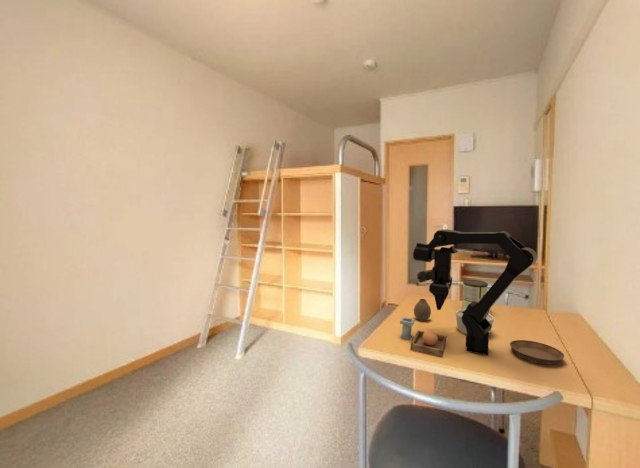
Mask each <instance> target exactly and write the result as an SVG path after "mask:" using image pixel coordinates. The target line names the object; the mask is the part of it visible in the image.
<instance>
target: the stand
mask: <svg viewBox="0 0 640 468" xmlns="http://www.w3.org/2000/svg"><path fill="white" fill-rule="evenodd" d="M415 321H416V320H415V318H410V317H403V316H402V317H401V319H400V320H399V324H400V325H402V330H401V331H402V332H401V334H400V337H401V338H402V339H404V340H413V335H412V328H413V326H414V324H415Z"/></svg>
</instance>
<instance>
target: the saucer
mask: <svg viewBox="0 0 640 468" xmlns="http://www.w3.org/2000/svg"><path fill="white" fill-rule="evenodd" d="M509 346H510V348H511V349H512V350H513V352H514V353H515V354H516V355H517V356H518V357H521V358H522V359H524V360H526V361H529V362H531V361H532V362H533V363H535V362H536V363H537V364H540V363H541V365H542V364H543V365H553V364H557V363H559V362H561V361H562V360H563V359H564V358H565V355H564V353H563V352H562V351H561V350H559V349H558V348H556V347H554V346H551V345H548V344H546V343H542V342H539V341H534V340H525V339H517V340H516V339H515V340H512V341H511V342H510V343H509ZM532 362H531V363H532Z"/></svg>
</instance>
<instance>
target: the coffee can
mask: <svg viewBox="0 0 640 468" xmlns="http://www.w3.org/2000/svg"><path fill="white" fill-rule="evenodd" d="M462 283H463V285H462V300H461V301H462V303H461V310H462V309H466V308H467V306H468V305H469V304H470V303H472V302H473V301H476V302H477V303H478V302H479V301H480V300H481V299H482V297H483V296H484V295H485V294H486V292H487V291H488V285H489V283H488V282H487V281H483V280H479V279H464V280H463V281H462Z"/></svg>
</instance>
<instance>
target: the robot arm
mask: <svg viewBox="0 0 640 468" xmlns="http://www.w3.org/2000/svg"><path fill="white" fill-rule="evenodd" d="M458 244H480V245H481V244H483V245H485V244H488V245H489V244H490V245H492V244H494V245H495V244H496V245H498V246H499V247H500V248H501V249H502V250H503V252H504V253H505V254H506V255H507V256H509V259H508V261H507V263H506V266H505V268H504V270H503V272H502V273H501V274H500V275H499V277H498V278H497V279H496V281H494V283H493V284H492V285H491V286H490V287H489V289H487V292H486V294H485V295H484V296H483V297H482V299H481V300H480V301H479V302H478V303H477V302H476V301H473V302H472V303H470V304H469V305H468V306H467V308H466V310H465V311H463V312H462V313H463V315H462V318H461V319H462V322H463V324H464V325H465V327H466V330H467V334H465V347H466V351H467V352H470V353H474V354H479V355H485V356H489V344H490V343H489V341H490V334H489V332H488V331H490V329H491V330H492V328H493V324H492V325H491V324H490V323H489V321H488V320H487V319H486V317H487V315H488V314H490V313H489V312H490V311H491V309H492V307H493V306H494V304H495V303H496V302H497V301H498V300H499V299H500V298H501V296H502V295H503V294H504V293H505V292H506V290H507V289H508V288H510V285H512V283H513V282H514V281H516V279H517V278H518V277H519V276H520V275H521V274H522V273H524V272H525V271H526V270H528V269H529V268H530V267H532V266H533V265H534V264H536V262H537V261H538V254H537V252H536V251H535V250H534V249H533V248H530V247H526V246H525V245H524V244H522V242H520V241H519V240H517V239H516V238H514V237H513V236H512V235H511V234H510V233H509V232H508V231H490V232H489V231H485V232H484V231H481V232H478V231H477V232H468V231H467V232H464V231H460V230H459V231H458V230H454V229H439V230H436V232H434V234H433V238H431V240H430V241H429V243H422V242H416V244H415V245H416V246H415V248H414V250H413V252H412V256H413V257H412V258H413V260H414V261H418V262H423V263H424V262H425V263H431V262H432V261H433V267H432V268H431V269H428V270H422V271H421V270H420V271H419V272H417V274H416V276H417V280H418V281H419V282H418V283H424V282H427V281H430V280H431V283H430V284H429V285H428V287H429V288H428V292H430V294H432V295H433V298H434V301H435V306H436V311H440V310H441V309H442V307H443V306H444V303H445V301H446V300H447V298H448V295H449V293H450V289H451V287H452V285H453V284H452V283H453V277H452V276H451V275H452V274H451V271H452V255H453V254H454V255H455V254H457V253H459V250H457V248H456V247H455V246H454V245H458ZM445 246H446V247H445ZM447 246H449V247H447ZM491 327H492V328H491Z"/></svg>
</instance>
